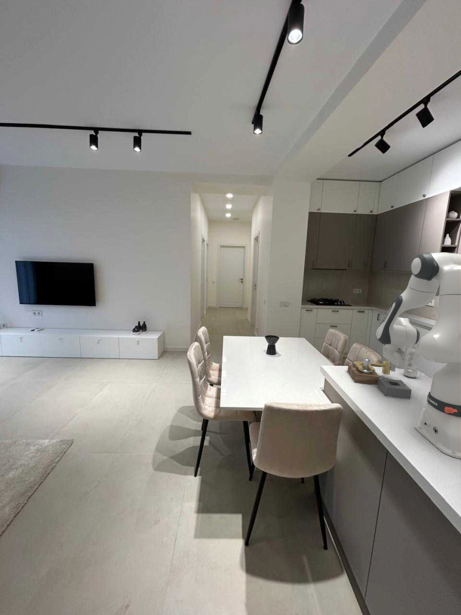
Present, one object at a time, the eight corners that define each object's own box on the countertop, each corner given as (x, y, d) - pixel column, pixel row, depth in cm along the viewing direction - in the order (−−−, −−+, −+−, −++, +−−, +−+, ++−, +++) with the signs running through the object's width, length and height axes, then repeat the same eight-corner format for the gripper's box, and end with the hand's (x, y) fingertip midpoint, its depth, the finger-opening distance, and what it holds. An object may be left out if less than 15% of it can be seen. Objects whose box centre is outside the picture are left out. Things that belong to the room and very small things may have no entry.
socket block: (379, 385, 138) (380, 374, 137) (355, 382, 140) (356, 371, 139) (368, 373, 154) (370, 363, 153) (347, 371, 156) (348, 361, 155)
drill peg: (370, 382, 141) (373, 361, 139) (360, 381, 142) (363, 360, 140) (367, 378, 146) (370, 358, 144) (357, 377, 147) (360, 357, 145)
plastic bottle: (419, 379, 149) (425, 345, 145) (407, 378, 149) (413, 345, 145) (411, 374, 155) (417, 342, 152) (400, 373, 155) (405, 341, 152)
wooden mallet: (396, 381, 138) (398, 368, 137) (358, 377, 141) (360, 365, 140) (387, 372, 149) (389, 361, 148) (352, 369, 153) (354, 357, 151)
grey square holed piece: (410, 399, 124) (411, 390, 124) (385, 396, 126) (386, 387, 126) (399, 388, 135) (401, 380, 134) (377, 386, 137) (378, 377, 136)
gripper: (411, 352, 128) (407, 379, 130) (393, 341, 148) (390, 364, 150) (398, 351, 129) (393, 377, 131) (381, 340, 149) (378, 363, 151)
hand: (391, 370), depth 141 cm, fingers closed
